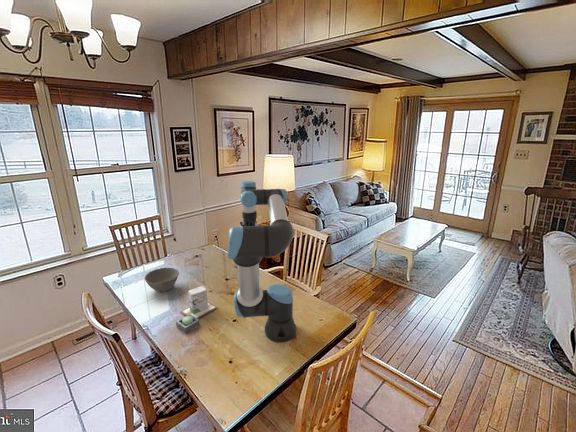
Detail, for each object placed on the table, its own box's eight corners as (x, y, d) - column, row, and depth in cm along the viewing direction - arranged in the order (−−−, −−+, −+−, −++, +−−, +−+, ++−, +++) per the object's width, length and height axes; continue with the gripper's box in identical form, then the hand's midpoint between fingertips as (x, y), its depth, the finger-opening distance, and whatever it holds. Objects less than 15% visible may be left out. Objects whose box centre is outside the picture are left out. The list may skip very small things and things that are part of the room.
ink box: (193, 314, 155) (190, 294, 152) (189, 309, 159) (187, 290, 155) (208, 308, 160) (206, 289, 156) (205, 304, 164) (203, 285, 160)
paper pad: (217, 308, 162) (217, 307, 161) (193, 321, 150) (193, 320, 150) (204, 300, 169) (204, 299, 169) (180, 312, 158) (180, 311, 157)
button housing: (199, 325, 148) (199, 320, 147) (185, 333, 142) (184, 328, 141) (190, 318, 153) (190, 313, 152) (176, 326, 147) (175, 321, 146)
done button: (195, 324, 148) (194, 318, 147) (186, 329, 144) (185, 323, 143) (189, 319, 151) (188, 314, 150) (180, 324, 147) (180, 319, 146)
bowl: (139, 295, 173) (137, 280, 170) (160, 280, 191) (158, 265, 188) (168, 300, 169) (165, 284, 166) (186, 283, 186) (184, 269, 183)
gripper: (263, 211, 154) (264, 253, 162) (245, 207, 162) (247, 247, 169) (253, 214, 149) (255, 257, 156) (235, 210, 156) (237, 251, 163)
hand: (251, 252), depth 162 cm, fingers closed
